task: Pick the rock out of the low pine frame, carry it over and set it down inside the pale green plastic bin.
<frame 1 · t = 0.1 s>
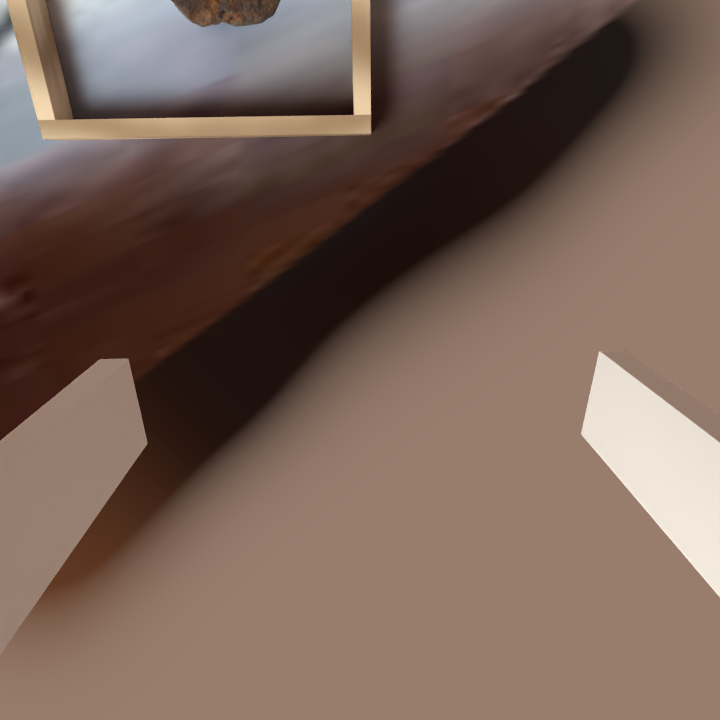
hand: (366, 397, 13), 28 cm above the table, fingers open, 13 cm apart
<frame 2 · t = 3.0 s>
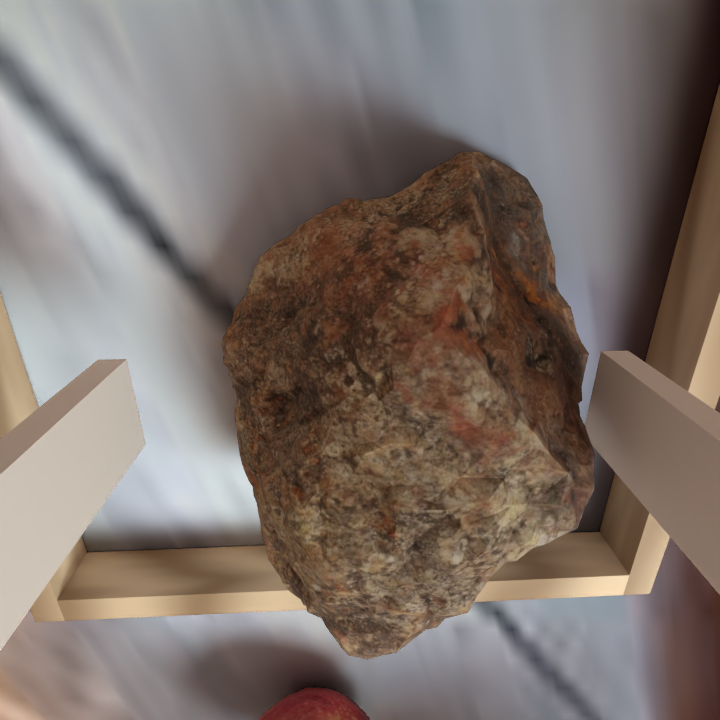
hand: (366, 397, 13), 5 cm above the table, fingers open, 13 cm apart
fruit 2: (317, 691, 26), on the table
pine frame: (343, 331, 17), on the table
rock: (372, 337, 17), on the table, touching gripper
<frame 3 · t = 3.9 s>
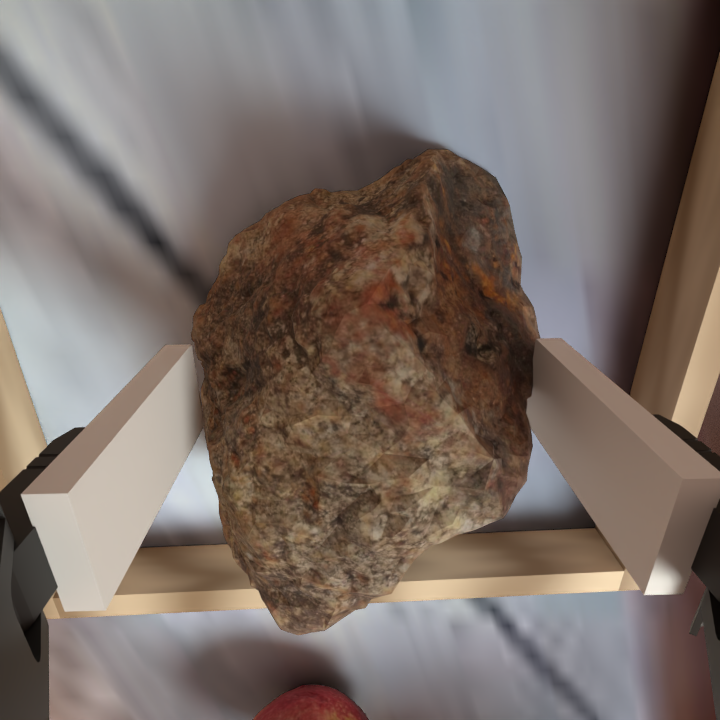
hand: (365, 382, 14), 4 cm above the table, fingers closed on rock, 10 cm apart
fruit 2: (314, 688, 27), on the table
pine frame: (338, 328, 17), on the table
rock: (343, 328, 18), on the table, touching gripper
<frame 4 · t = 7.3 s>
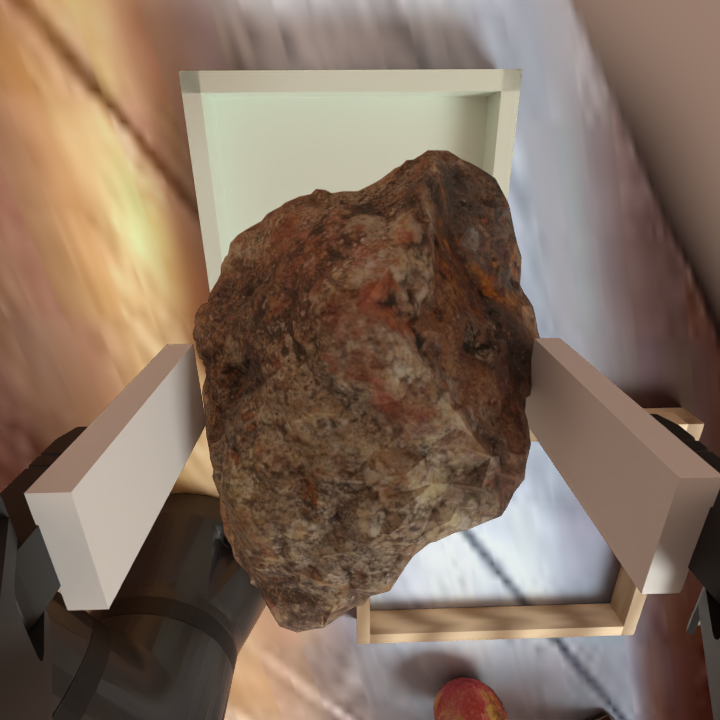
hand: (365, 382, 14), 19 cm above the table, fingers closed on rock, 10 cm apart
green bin: (353, 258, 32), on the table
fruit 2: (460, 679, 50), on the table
pine frame: (502, 524, 41), on the table
rock: (344, 327, 18), point 15 cm above the table, touching gripper
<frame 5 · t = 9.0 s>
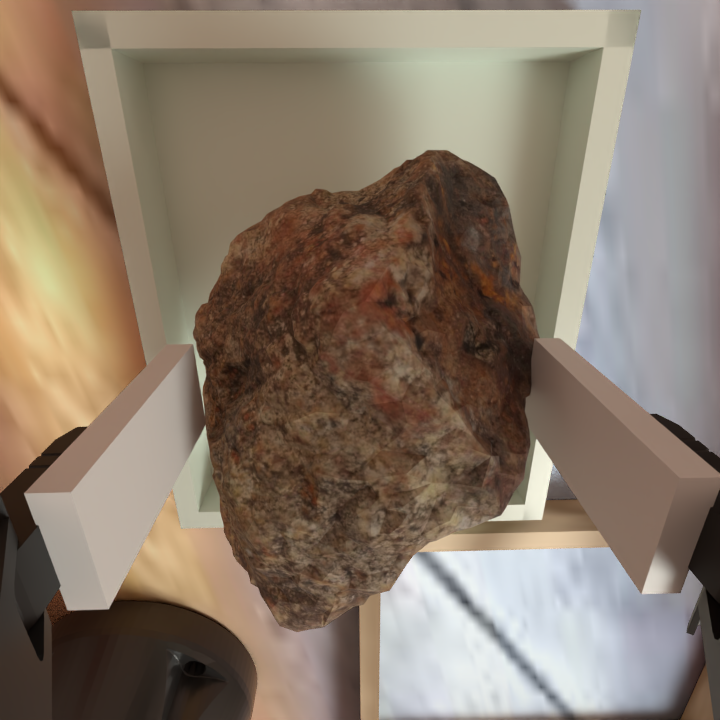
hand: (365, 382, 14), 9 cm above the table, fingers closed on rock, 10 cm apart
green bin: (359, 300, 22), on the table
pine frame: (550, 633, 32), on the table
rock: (344, 327, 18), point 4 cm above the table, touching gripper
when the fingers open (9 cm above the table, at t = 9.7 s): rock drops 4 cm, resting on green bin.
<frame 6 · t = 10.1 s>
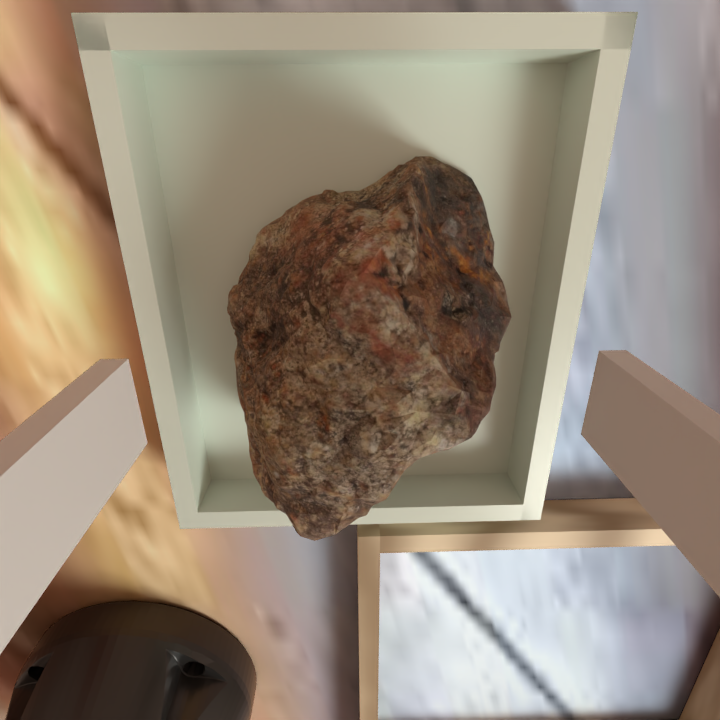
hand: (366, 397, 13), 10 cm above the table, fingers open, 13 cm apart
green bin: (358, 301, 22), on the table
pine frame: (549, 633, 32), on the table
rock: (350, 305, 21), point 1 cm above the table, touching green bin
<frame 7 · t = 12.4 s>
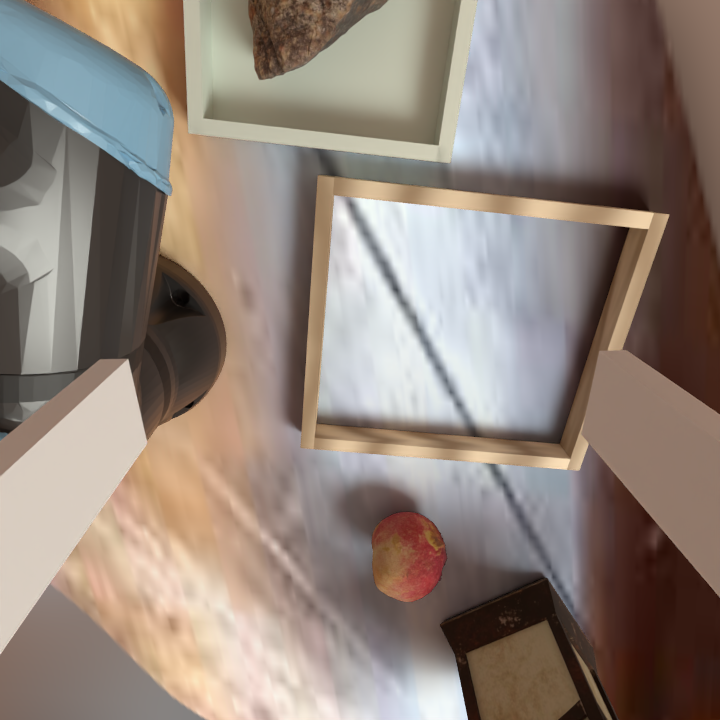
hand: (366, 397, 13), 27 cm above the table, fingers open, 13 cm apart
fruit 2: (402, 522, 50), on the table
pine frame: (459, 332, 41), on the table
lantern: (543, 617, 56), on the table
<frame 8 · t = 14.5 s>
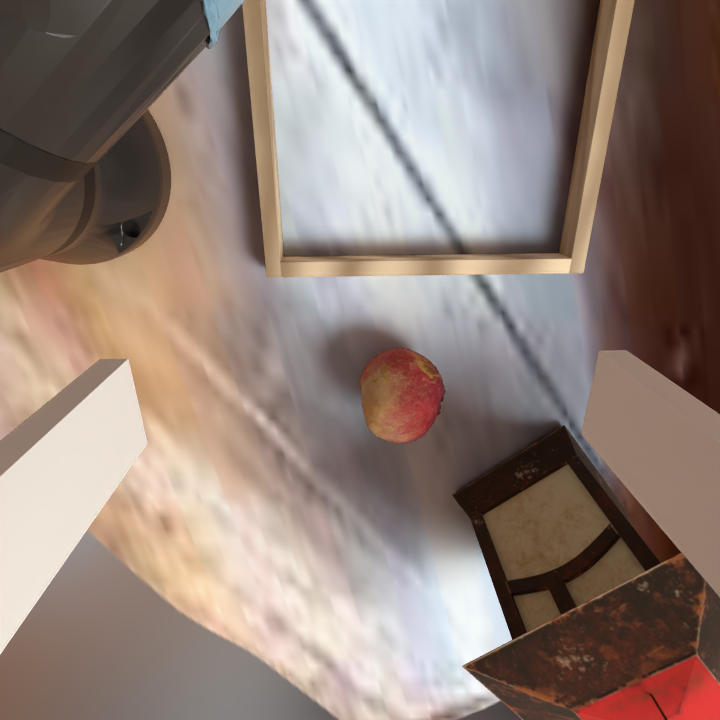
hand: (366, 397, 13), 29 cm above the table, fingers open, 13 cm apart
fruit 2: (395, 373, 45), on the table
pine frame: (428, 119, 36), on the table
lantern: (566, 477, 51), on the table
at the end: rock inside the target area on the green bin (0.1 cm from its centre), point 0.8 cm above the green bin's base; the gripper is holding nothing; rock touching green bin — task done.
